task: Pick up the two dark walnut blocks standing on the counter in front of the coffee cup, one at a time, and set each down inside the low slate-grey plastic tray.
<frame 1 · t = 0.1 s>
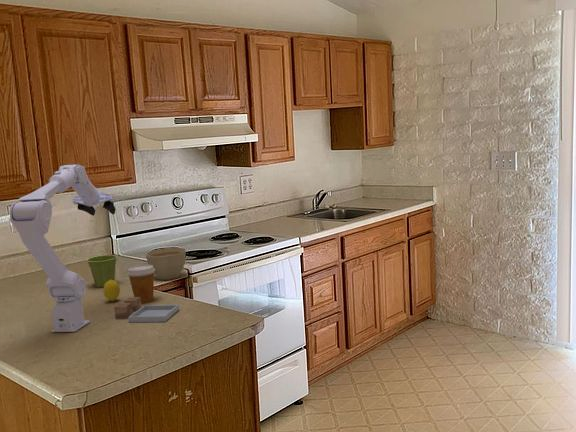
hand: (104, 212, 202), 32 cm above the worktop, tool tilted 50°, fingers open, 7 cm apart
plant pot: (105, 285, 231), on the worktop
planter bowl: (168, 278, 236), on the worktop
walnut block A: (124, 317, 186), on the worktop
tray: (154, 316, 184), on the worktop
lemon: (113, 301, 205), on the worktop
walnut block B: (133, 310, 192), on the worktop
disposable coffee cup: (144, 301, 203), on the worktop
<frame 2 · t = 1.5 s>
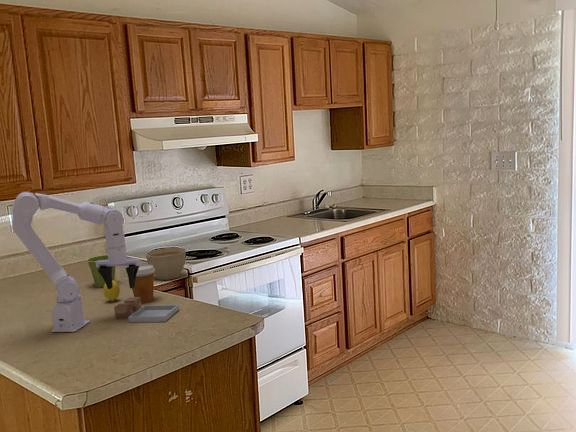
hand: (121, 288, 184), 10 cm above the worktop, tool pointing down, fingers open, 7 cm apart
nothing on the worktop moved.
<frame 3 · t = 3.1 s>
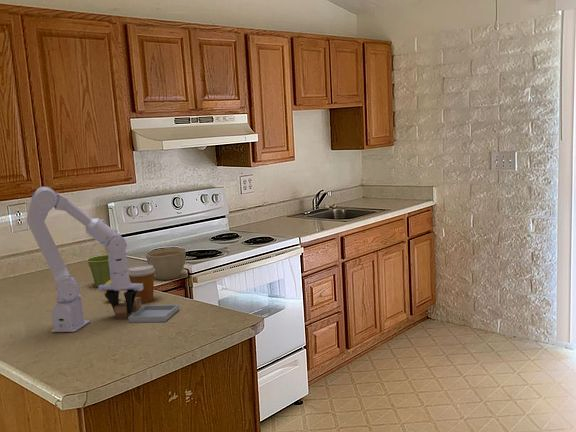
hand: (123, 312, 185), 1 cm above the worktop, tool pointing down, fingers closed on walnut block A, 4 cm apart
walnut block A: (124, 316, 186), on the worktop, touching gripper
everything else where it was.
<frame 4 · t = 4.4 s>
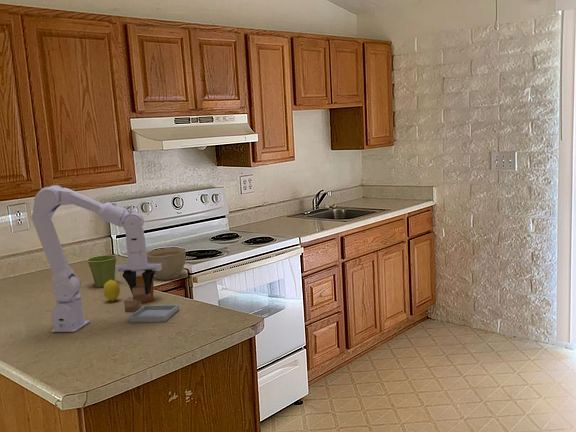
hand: (141, 293, 181), 8 cm above the worktop, tool pointing down, fingers closed on walnut block A, 4 cm apart
walnut block A: (142, 298, 181), point 7 cm above the worktop, touching gripper
everything else where it was.
when the fingers open (3 cm above the worktop, at t = 5.7 s): walnut block A stays where it is, resting on tray.
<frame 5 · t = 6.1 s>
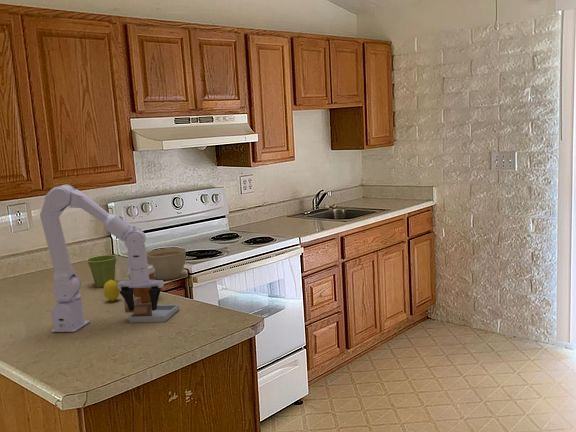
hand: (143, 309, 181), 3 cm above the worktop, tool pointing down, fingers open, 7 cm apart
walnut block A: (143, 317, 182), resting on tray
everything else where it was.
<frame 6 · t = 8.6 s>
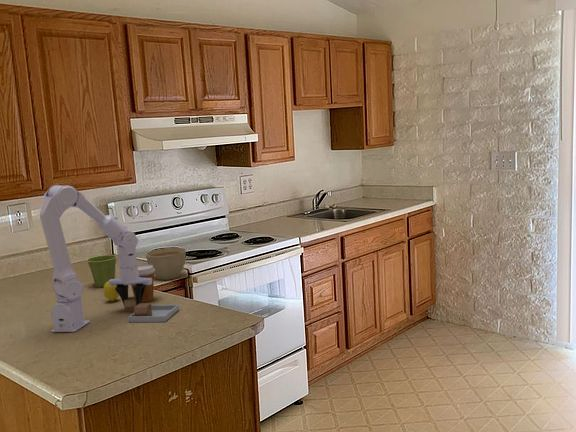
hand: (133, 305, 192), 1 cm above the worktop, tool pointing down, fingers closed on walnut block B, 4 cm apart
walnut block B: (133, 310, 192), on the worktop, touching gripper
everything else where it was.
when the fingers open (3 cm above the worktop, at t = 11.8 s): walnut block B stays where it is, resting on tray.
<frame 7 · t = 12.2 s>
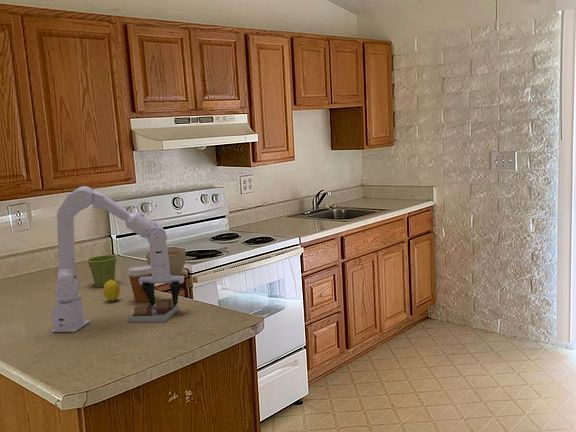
hand: (164, 304, 185), 3 cm above the worktop, tool pointing down, fingers open, 7 cm apart
walnut block B: (165, 312, 186), resting on tray
everything else where it was.
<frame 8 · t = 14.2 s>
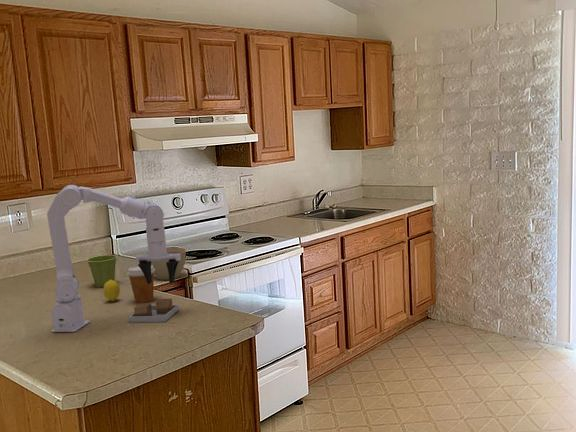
hand: (160, 282, 186), 10 cm above the worktop, tool pointing down, fingers open, 7 cm apart
nothing on the worktop moved.
at the end: walnut block A inside the target area on the tray (3.5 cm from its centre), point 0.4 cm above the tray's base; walnut block B inside the target area on the tray (3.6 cm from its centre), point 0.4 cm above the tray's base; the gripper is holding nothing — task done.
